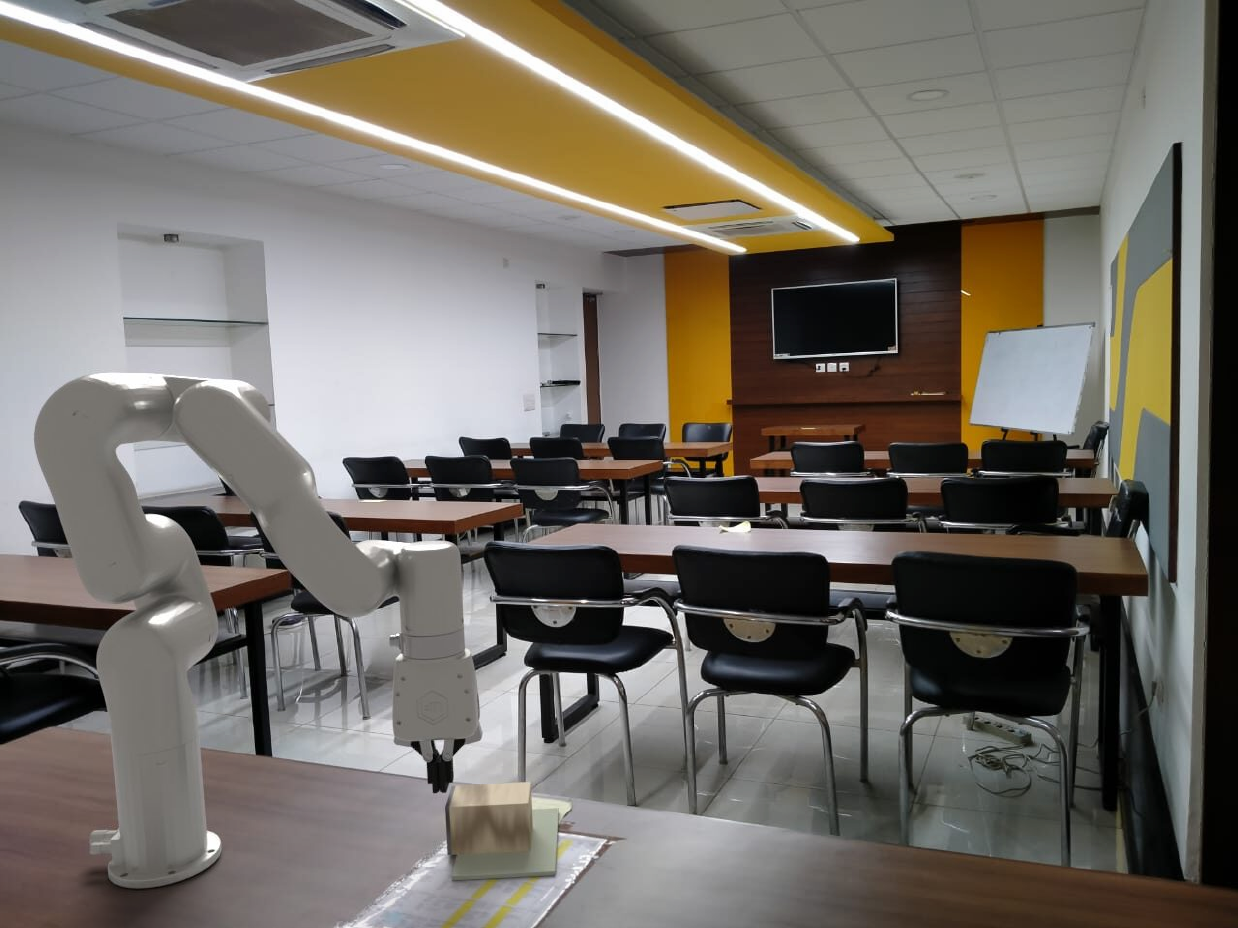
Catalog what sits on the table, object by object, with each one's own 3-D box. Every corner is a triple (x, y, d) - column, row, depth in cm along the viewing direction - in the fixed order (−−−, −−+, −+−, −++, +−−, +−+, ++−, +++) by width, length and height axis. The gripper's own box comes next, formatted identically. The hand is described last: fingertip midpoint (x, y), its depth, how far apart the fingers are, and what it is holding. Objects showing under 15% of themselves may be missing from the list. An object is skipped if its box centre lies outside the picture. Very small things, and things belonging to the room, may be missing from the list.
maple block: (444, 807, 114) (528, 803, 114) (451, 785, 120) (530, 781, 120) (447, 854, 114) (530, 850, 115) (454, 831, 120) (532, 827, 121)
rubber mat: (451, 880, 110) (451, 876, 109) (468, 816, 125) (468, 812, 125) (555, 874, 110) (555, 870, 110) (558, 811, 126) (558, 808, 126)
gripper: (364, 654, 111) (373, 805, 113) (492, 649, 111) (499, 799, 113) (378, 637, 118) (386, 778, 120) (497, 632, 119) (504, 772, 121)
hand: (441, 787), depth 117 cm, fingers closed
